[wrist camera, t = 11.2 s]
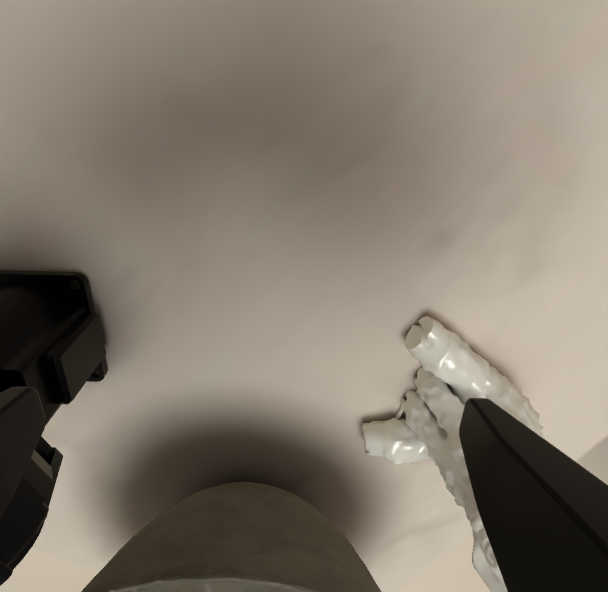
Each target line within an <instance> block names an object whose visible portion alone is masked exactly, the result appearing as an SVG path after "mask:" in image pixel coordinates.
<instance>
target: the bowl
mask: <svg viewBox="0 0 608 592" xmlns="http://www.w3.org/2000/svg"><path fill="white" fill-rule="evenodd" d="M82 592H381V591H380V589H379V587H378V586H377V584H376V582H375V581H374V579H373V577H372V576H371V574H370V572H369V571H368V569H367V567H366V566H365V564H364V563H363V561H362V560H361V558H360V557H359V555H358V554H357V552H356V551H355V550H354V548H353V547H352V545H351V544H350V542H349V541H348V540H347V538H346V537H345V535H344V534H343V533H342V532H341V530H340V529H339V528H338V527H337V526H336V525H335V524H334V523H333V522H331V521H330V520H329V519H328V518H327V517H326V516H325V515H324V514H322V513H321V512H320V511H319V510H318V509H316V508H315V507H314V506H313V505H311V504H310V503H308V502H307V501H305V500H304V499H302V498H300V497H299V496H297V495H295V494H293V493H291V492H288V491H286V490H284V489H281V488H279V487H275V486H271V485H267V484H262V483H255V482H232V483H225V484H220V485H216V486H212V487H209V488H206V489H203V490H200V491H197V492H195V493H193V494H191V495H189V496H187V497H185V498H184V499H182V500H181V501H179V502H178V503H176V504H175V505H173V506H172V507H170V508H169V509H167V510H166V511H165V512H163V513H162V514H161V515H159V516H158V517H157V518H156V519H154V520H153V521H152V522H150V523H149V524H148V525H147V526H146V527H145V528H143V529H142V530H141V531H140V532H139V533H138V534H136V535H135V536H134V537H133V538H132V539H131V540H130V541H129V542H128V543H127V544H125V545H124V546H123V547H122V548H121V549H120V550H119V551H118V552H117V554H116V555H115V556H114V557H113V558H112V559H111V560H110V561H109V562H108V564H107V565H106V566H105V567H104V568H103V569H102V570H101V571H100V572H99V573H98V574H97V575H96V576H95V577H94V578H93V580H91V581H90V583H89V584H88V585H87V586H86V587H85V588H84V589H83V591H82Z"/></svg>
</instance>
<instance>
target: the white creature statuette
mask: <svg viewBox="0 0 608 592" xmlns="http://www.w3.org/2000/svg"><path fill="white" fill-rule="evenodd" d="M418 322H419V324H420V325H412V327H411V329H410V331H409V332H408V334H407V336H406V341H405V345H406V348H407V349H408V351H409V352H410V354H411V355H412V356H413V357H414V358H415V359H417V360H418V361H419V363H420V364H421V365H422V366H421V368H420V369H418V372H417V377H414V380H415V385H416V387H417V390H416V391H408V392H407V393H406V397H407V400H405V399H403V398H402V405H401V407H400V409H399V411H398V412H397V414H396V416H395V418H391V419H389V420H385V421H371V423H362V427H363V429H362V430H363V439H364V448H365V453H366V455H370V456H375V457H383V458H384V459H385V460H387V461H390V462H391V463H393V464H401V463H404V462H409V463H419V462H421V461H435V463H436V465H437V467H438V468H439V470H440V473H441V475H442V477H443V479H444V481H445V483H446V487H447V489H448V490H449V492H451V494H452V495H453V496H454V497H455V501H456V504H457V505H459V506H462V507H464V509H465V511H466V516H467V519H468V520H469V521H470V526H471V527H472V532H473V537H474V545H473V553H472V563H473V566H474V568H475V570H476V571H477V573H478V574H479V575H480V577H481V578H482V579H483V581H484V582H485V584H486V585H487V586H488V588H489V589H490V591H491V592H508V591H507V588H506V585H505V583H504V580H503V577H502V575H501V572H500V569H499V566H498V564H497V561H496V558H495V556H494V553H493V550H492V547H491V545H490V542H489V539H488V537H487V534H486V531H485V528H484V526H483V523H482V520H481V517H480V515H479V512H478V509H477V505H476V502H475V498H474V494H473V490H472V486H471V482H470V478H469V474H468V470H467V466H466V462H465V458H464V454H463V450H462V446H461V442H460V438H459V426H460V422H461V418H462V414H463V410H464V406H465V403H466V401H467V399H469V398H487V399H489V400H491V401H493V402H494V403H495V404H497V405H498V406H499V407H501V408H502V409H504V410H505V411H506V412H508V413H509V414H510V415H512V416H513V417H515V418H516V419H517V420H519V421H520V422H521V423H523V424H524V425H526V426H527V427H528V428H530V429H531V430H532V431H534V432H535V433H537V434H538V435H539V436H541V437H542V438H543V439H545V437H544V435H543V434H542V433H541V430H542V428H543V427H542V426H541V425H540V424H539V423H538V421H539V414H538V413H537V412H536V411H535V410H534V409H533V407H532V406H531V404H530V401H529V398H528V397H526V396H524V395H522V393H521V390H520V389H519V388H518V387H517V386H515V385H513V384H510V381H508V379H507V378H506V377H505V376H502V375H501V374H500V373H499V372H497V370H496V368H493V367H490V365H489V363H488V361H486V360H485V359H483V358H482V357H481V356H480V355H479V354H476V353H474V352H473V351H472V350H471V349H470V347H469V345H468V344H467V343H466V342H465V341H464V340H461V339H460V337H459V336H458V334H456V333H455V332H451V331H448V330H447V329H445V328H444V327H443V325H442V324H441V323H440V322H438V321H436V320H434V319H432V318H431V317H428V316H427V317H423V318H421V319H420V320H419V321H418ZM446 383H448V386H449V387H450V388H451V389H450V390H449V388H448V386H447V385H446ZM403 410H404V412H405V414H406V419H399V418H400V416H401V414H402V412H403Z"/></svg>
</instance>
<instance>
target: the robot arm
mask: <svg viewBox="0 0 608 592" xmlns="http://www.w3.org/2000/svg"><path fill="white" fill-rule="evenodd" d="M73 280H75V281H77V282H78V283H79V285H80V286H77V285H75V284H74V282H73ZM105 355H106V350H105V345H104V340H103V336H102V331H101V326H100V321H99V317H98V315H97V313H96V312H95V311H94V307H93V302H92V298H91V293H90V288H89V284H88V280H87V278H86V277H85V276H84V275H83V274H81V273H77V272H47V271H10V270H0V585H2V584H3V583H4V582H5V581H6V580H7V579H8V578H9V577H10V576H11V574H12V572H13V569H14V568H15V567H16V566H17V565H18V564H19V563H20V561H21V560H22V559H23V558H24V557H25V555H26V554H27V553H28V551H29V550H30V549H31V547H32V546H33V544H34V543H35V541H36V539H37V537H38V536H39V534H40V532H41V529H42V527H43V524H44V521H45V519H46V517H47V514H48V510H49V504H50V500H51V497H52V493H53V490H54V486H55V483H56V479H57V476H58V472H59V469H60V465H61V462H62V458H63V455H62V454H61V453H60V452H59V451H58V450H57V449H56V448H55V447H53V448H52V447H51V446H50V445H49V444H48V443H47V442H46V441H45V440H44V438H43V437H42V436H41V435H42V433H43V431H44V428H45V426H46V424H47V423H48V422H49V420H50V419H51V418H52V416H53V415H54V414H55V412H56V411H57V410H58V408H59V407H60V406H61V404H69V403H70V402H71V401H72V400H73V399H74V398H75V396H76V395H77V394H78V392H79V391H80V389H81V388H82V387H83V385H84V384H85V382H86V381H93V382H97V381H101V380H103V378H104V377H105V375H106V374H107V368H106V363H105V358H104V356H105ZM94 371H97V372H99V374H98V373H96V372H94ZM459 438H460V442H461V446H462V450H463V454H464V458H465V462H466V466H467V470H468V474H469V478H470V482H471V486H472V490H473V494H474V498H475V502H476V505H477V509H478V512H479V515H480V517H481V520H482V523H483V526H484V528H485V531H486V534H487V537H488V539H489V542H490V545H491V547H492V550H493V553H494V556H495V558H496V561H497V564H498V566H499V569H500V572H501V575H502V577H503V580H504V583H505V585H506V588H507V591H508V592H608V485H607V484H605V483H604V482H602V481H601V480H600V479H598V478H597V477H596V476H594V475H593V474H591V473H590V472H589V471H587V470H586V469H585V468H583V467H582V466H581V465H579V464H578V463H576V462H575V461H574V460H572V459H571V458H570V457H568V456H567V455H565V454H564V453H563V452H561V451H560V450H559V449H557V448H556V447H554V446H553V445H552V444H550V443H549V442H548V441H546V440H545V439H543V438H542V437H541V436H539V435H538V434H537V433H535V432H534V431H532V430H531V429H530V428H528V427H527V426H526V425H524V424H523V423H521V422H520V421H519V420H517V419H516V418H515V417H513V416H512V415H510V414H509V413H508V412H506V411H505V410H504V409H502V408H501V407H499V406H498V405H497V404H495V403H494V402H493V401H491V400H489V399H487V398H469V399H467V401H466V403H465V406H464V410H463V414H462V418H461V422H460V426H459Z"/></svg>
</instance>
